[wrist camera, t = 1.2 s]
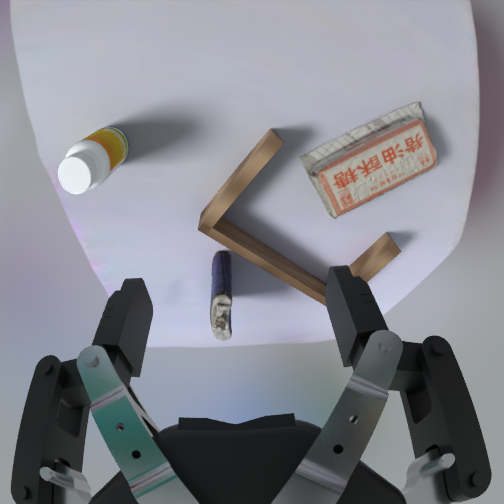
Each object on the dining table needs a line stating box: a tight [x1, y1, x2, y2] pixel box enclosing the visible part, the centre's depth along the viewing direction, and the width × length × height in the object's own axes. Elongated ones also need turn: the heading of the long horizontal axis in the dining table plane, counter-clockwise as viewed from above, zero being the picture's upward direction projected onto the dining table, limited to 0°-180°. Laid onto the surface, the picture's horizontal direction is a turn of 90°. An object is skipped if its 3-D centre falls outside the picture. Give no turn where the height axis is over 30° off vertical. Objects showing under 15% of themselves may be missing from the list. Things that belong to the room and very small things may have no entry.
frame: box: [198, 129, 401, 306], centre depth 38 cm, size 14×24×4 cm, turn 51°
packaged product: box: [299, 102, 438, 219], centre depth 32 cm, size 18×5×10 cm
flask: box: [210, 251, 232, 340], centre depth 39 cm, size 9×3×11 cm, turn 177°
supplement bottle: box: [58, 127, 128, 194], centre depth 27 cm, size 5×5×10 cm
